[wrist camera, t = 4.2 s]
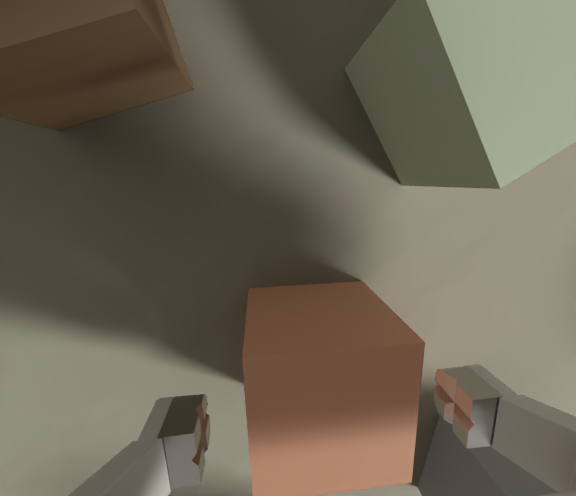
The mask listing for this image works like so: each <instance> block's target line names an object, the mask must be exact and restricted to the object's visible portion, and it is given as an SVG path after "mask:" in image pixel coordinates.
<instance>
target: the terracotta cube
mask: <svg viewBox="0 0 576 496" xmlns="http://www.w3.org/2000/svg"><path fill="white" fill-rule="evenodd" d="M424 347H425V342H424V341H423V340H422V339H421V338H420V337H419V336H418V335H417V334H416V333H415V332H414V331H413V330H412V329H411V328H410V327H409V326H408V325H407V324H406V323H405V322H404V321H403V320H402V319H401V318H400V317H398V316H397V315H396V314H395V313H394V312H393V311H392V310H391V309H390V308H389V307H388V306H387V305H386V304H385V303H384V302H383V301H382V300H381V299H380V298H379V297H378V296H377V295H376V294H375V293H374V292H373V291H372V290H371V289H370V288H369V287H368V286H367V285H366V284H365V283H364V282H363V281H353V282H337V283H322V284H306V285H291V286H275V287H260V288H249V290H248V301H247V311H246V322H245V332H244V343H243V353H242V364H243V377H244V390H245V403H246V416H247V429H248V442H249V455H250V468H251V481H252V494H253V496H317V495H324V494H332V493H339V492H347V491H354V490H362V489H369V488H377V487H384V486H392V485H399V484H407V483H412V474H413V463H414V453H415V442H416V432H417V421H418V410H419V400H420V389H421V379H422V368H423V358H424Z"/></svg>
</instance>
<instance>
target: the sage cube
mask: <svg viewBox="0 0 576 496" xmlns="http://www.w3.org/2000/svg"><path fill="white" fill-rule="evenodd" d="M344 69H345V71H346V73H347V75H348V77H349V79H350V81H351V83H352V85H353V87H354V89H355V91H356V93H357V95H358V97H359V99H360V101H361V103H362V105H363V107H364V109H365V111H366V114H367V116H368V118H369V120H370V122H371V124H372V126H373V128H374V130H375V132H376V134H377V136H378V138H379V140H380V142H381V144H382V146H383V148H384V150H385V152H386V154H387V156H388V158H389V160H390V162H391V164H392V166H393V168H394V170H395V173H396V175H397V177H398V179H399V181H400V183H401V185H404V186H434V187H464V188H494V189H501V188H502V187H504V186H505V185H507V184H509V183H510V182H512V181H513V180H515V179H517V178H518V177H520V176H521V175H523V174H525V173H526V172H528V171H530V170H531V169H533V168H534V167H536V166H538V165H539V164H541V163H542V162H544V161H546V160H547V159H549V158H550V157H552V156H554V155H555V154H557V153H558V152H560V151H562V150H563V149H565V148H566V147H568V146H570V145H571V144H573V143H574V142H576V0H396V2H395V3H394V4H393V5H392V7H391V8H390V9H389V11H388V12H387V13H386V15H385V16H384V17H383V19H382V20H381V21H380V23H379V24H378V25H377V26H376V28H375V29H374V30H373V32H372V33H371V34H370V36H369V37H368V38H367V40H366V41H365V42H364V43H363V45H362V46H361V47H360V49H359V50H358V51H357V53H356V54H355V55H354V57H353V58H352V59H351V60H350V62H349V63H348V64H347V66H346V67H345V68H344Z"/></svg>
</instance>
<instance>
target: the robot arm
mask: <svg viewBox="0 0 576 496" xmlns="http://www.w3.org/2000/svg"><path fill="white" fill-rule="evenodd" d="M435 380H436V382H437V383H438V385H437V386H436V388H435V389H434V394H433V399H434V403H435V407H436V409H437V411H438V413H439V414H440V416H441V417H442V418H443V420H445V421H447V422H449V423H450V424H452V431H453V432H454V434H455V435H456V436H457V437H458V439H459V440H460V441H461V442H462V444H463V445H464V446H465V447H466V449H468V448H478V447H488V446H492V448H493V449H495V450H496V451H498V452H499V453H501V454H502V455H504V456H505V457H507V458H508V459H509V460H511V461H512V462H514V463H515V464H517V465H518V466H520V467H521V468H523V469H524V470H526V471H527V472H529V473H530V474H532V475H533V476H534V477H536V478H537V479H539V480H540V481H542V482H543V483H545V484H546V485H548V486H549V487H551V488H552V489H554V490H555V491H557V492H558V493H554V494H547V495H541V496H576V417H575V416H573V415H570V414H568V413H565V412H563V411H561V410H558V409H556V408H553V407H551V406H548V405H546V404H543V403H541V402H538V401H536V400H534V399H531V398H529V397H526V396H524V395H519V396H518V395H517V394H516V393H515V392H514V391H512V390H511V389H510V388H509V387H507V386H506V385H505V384H504V383H502V382H501V381H500V380H499V379H498V378H496V377H495V376H494V375H493V374H491V373H490V372H489V371H488V370H486V369H485V368H484V367H483V366H481V365H478V364H475V365H467V366H463V367H454V368H445V369H437V371H436V373H435ZM207 405H208V403H207V396H206V395H205V394H199V395H187V396H175V397H166V398H159V399H158V400H157V401H156V402H155V404H154V407H153V409H152V411H151V413H150V415H149V417H148V419H147V421H146V424H145V426H144V428H143V430H142V432H141V434H140V436H139V438H138V441H133V442H131V443H130V444H129V445H128V446H127V447H125V448H124V449H123V450H122V451H121V452H119V453H118V454H117V455H116V456H115V457H114V458H112V459H111V460H110V461H109V462H108V463H106V464H105V465H104V466H103V467H102V468H101V469H99V470H98V471H97V472H96V473H95V474H93V475H92V476H91V477H90V478H89V479H88V480H86V481H85V482H84V483H83V484H82V485H80V486H79V487H78V488H77V489H76V490H75V491H73V492H72V493H71V494H70V495H69V496H168V495H169V494H170V492H171V489H177V488H183V487H189V486H195V485H201V482H202V476H203V471H204V466H205V457H204V453H205V451H206V450H207V449H208V445H209V437H210V419H209V415H208V414H207V413H206V410H207Z"/></svg>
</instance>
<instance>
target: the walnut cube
mask: <svg viewBox="0 0 576 496" xmlns="http://www.w3.org/2000/svg"><path fill="white" fill-rule="evenodd" d="M190 90H194V88H193V85H192V83H191V80H190V77H189V74H188V71H187V68H186V65H185V63H184V60H183V57H182V54H181V51H180V48H179V45H178V43H177V40H176V37H175V34H174V31H173V28H172V25H171V23H170V20H169V17H168V14H167V11H166V8H165V5H164V3H163V0H0V116H2V117H6V118H11V119H15V120H19V121H23V122H27V123H31V124H35V125H39V126H43V127H47V128H51V129H55V130H61V129H65V128H68V127H71V126H74V125H78V124H81V123H84V122H88V121H91V120H94V119H98V118H101V117H104V116H108V115H111V114H114V113H118V112H121V111H124V110H127V109H131V108H134V107H137V106H141V105H144V104H147V103H151V102H154V101H157V100H161V99H164V98H167V97H170V96H174V95H177V94H180V93H184V92H187V91H190Z"/></svg>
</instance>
